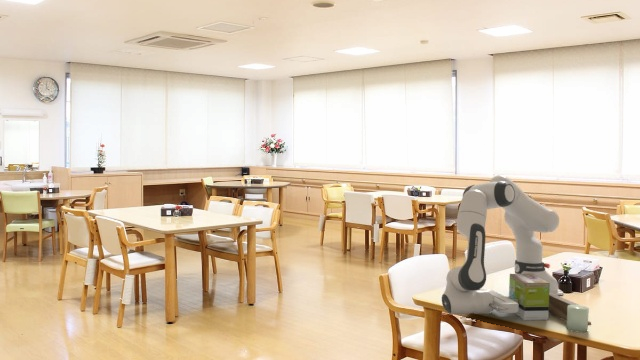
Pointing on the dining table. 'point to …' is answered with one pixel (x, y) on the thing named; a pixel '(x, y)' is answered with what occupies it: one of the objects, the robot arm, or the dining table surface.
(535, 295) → the tea box
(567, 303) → the walnut rail
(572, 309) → the mint green canister
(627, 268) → the dining table surface
